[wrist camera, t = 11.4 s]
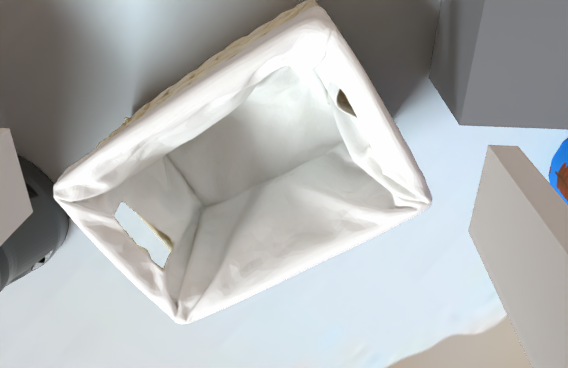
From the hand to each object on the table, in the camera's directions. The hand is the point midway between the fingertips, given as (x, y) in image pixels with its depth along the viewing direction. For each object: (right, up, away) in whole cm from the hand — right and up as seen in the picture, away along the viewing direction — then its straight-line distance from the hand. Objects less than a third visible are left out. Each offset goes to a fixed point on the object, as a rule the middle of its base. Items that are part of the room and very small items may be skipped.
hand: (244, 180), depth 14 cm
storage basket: (-1, +6, +33) cm, 34 cm away
